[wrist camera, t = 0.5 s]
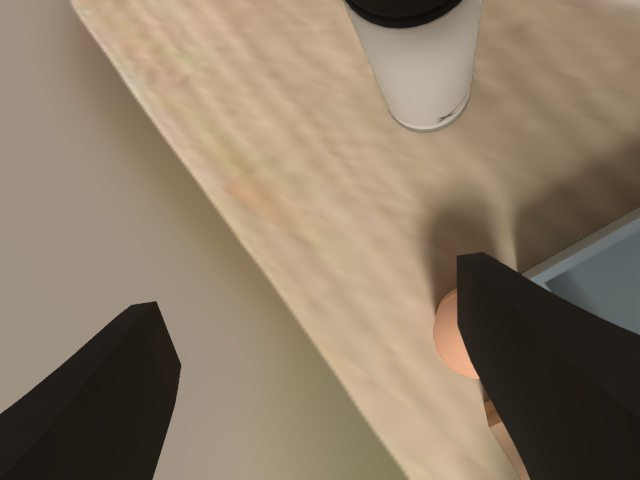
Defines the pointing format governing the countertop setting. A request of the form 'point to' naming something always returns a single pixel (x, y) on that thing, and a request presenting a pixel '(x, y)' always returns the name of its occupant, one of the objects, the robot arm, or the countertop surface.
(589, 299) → the tote
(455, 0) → the travel mug
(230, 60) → the countertop surface
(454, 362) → the terracotta capsule
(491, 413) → the walnut cube
